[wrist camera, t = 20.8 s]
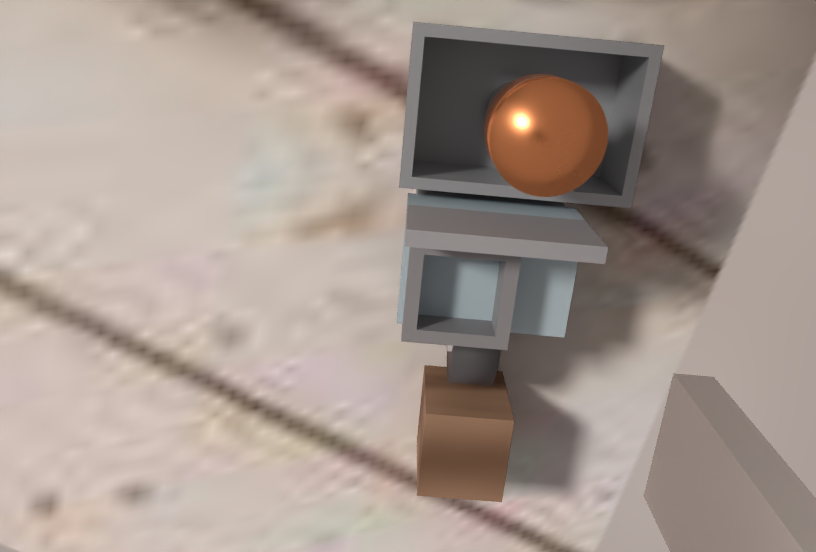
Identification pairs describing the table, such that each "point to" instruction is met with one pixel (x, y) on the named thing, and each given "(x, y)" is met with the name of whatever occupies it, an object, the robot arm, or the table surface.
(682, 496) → the robot arm
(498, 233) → the grey bracket
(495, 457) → the block
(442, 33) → the bin
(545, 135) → the pin
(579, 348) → the table surface
